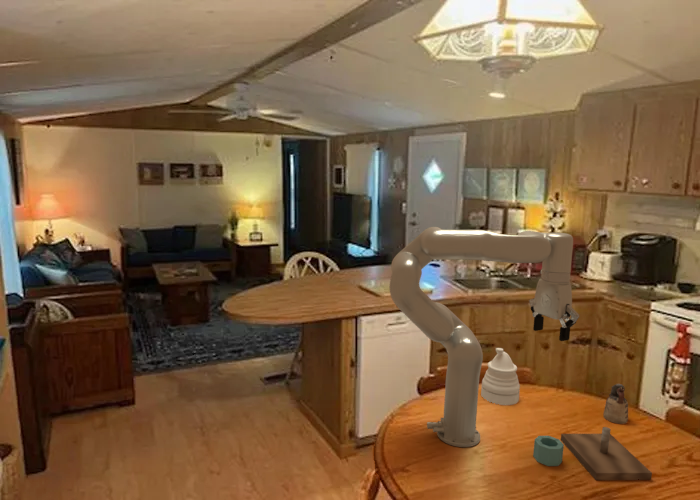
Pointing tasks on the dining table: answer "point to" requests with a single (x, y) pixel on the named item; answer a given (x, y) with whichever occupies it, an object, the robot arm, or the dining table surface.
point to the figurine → (616, 406)
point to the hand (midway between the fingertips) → (550, 335)
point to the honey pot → (501, 380)
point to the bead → (548, 450)
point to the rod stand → (605, 456)
